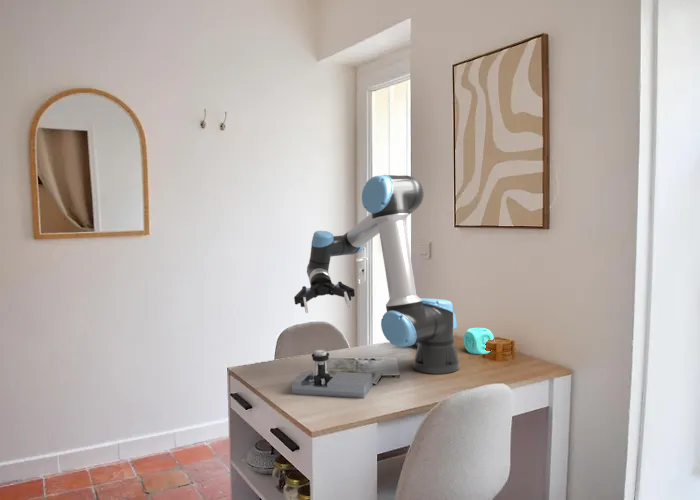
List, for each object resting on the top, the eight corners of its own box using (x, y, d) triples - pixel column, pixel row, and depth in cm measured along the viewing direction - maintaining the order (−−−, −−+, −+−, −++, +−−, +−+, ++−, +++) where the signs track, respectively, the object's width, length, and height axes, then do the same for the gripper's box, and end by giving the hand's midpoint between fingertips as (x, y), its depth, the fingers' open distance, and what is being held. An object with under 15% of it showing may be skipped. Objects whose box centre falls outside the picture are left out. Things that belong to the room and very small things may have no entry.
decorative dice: (481, 347, 209) (481, 326, 208) (494, 352, 202) (494, 330, 201) (463, 350, 206) (463, 329, 205) (476, 355, 199) (476, 333, 198)
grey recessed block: (372, 385, 170) (372, 373, 170) (364, 398, 159) (363, 385, 159) (304, 382, 176) (304, 370, 176) (292, 393, 165) (291, 381, 165)
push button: (312, 388, 165) (311, 355, 164) (306, 383, 170) (304, 351, 169) (333, 384, 168) (331, 351, 167) (326, 379, 173) (324, 348, 172)
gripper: (355, 287, 201) (366, 311, 181) (286, 296, 198) (290, 321, 178) (354, 267, 199) (364, 290, 179) (284, 276, 196) (287, 300, 176)
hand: (327, 306), depth 179 cm, fingers open, 13 cm apart
